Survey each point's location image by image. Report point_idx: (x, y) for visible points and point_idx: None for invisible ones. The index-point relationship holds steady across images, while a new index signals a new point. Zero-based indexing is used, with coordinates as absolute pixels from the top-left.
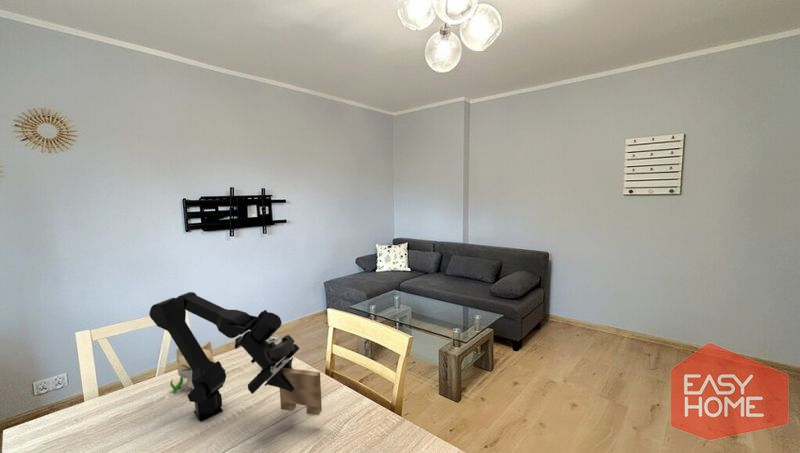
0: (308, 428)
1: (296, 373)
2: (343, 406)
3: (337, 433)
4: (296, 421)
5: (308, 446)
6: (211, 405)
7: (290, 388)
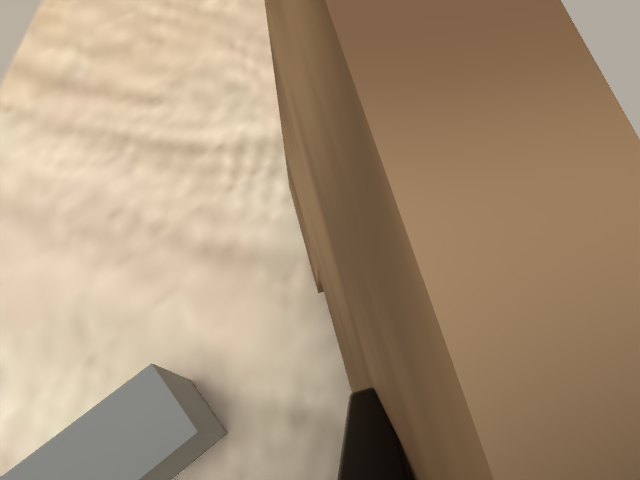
0: None
1: (631, 136)
2: (58, 249)
3: None
4: (333, 467)
5: None
6: None
7: None
